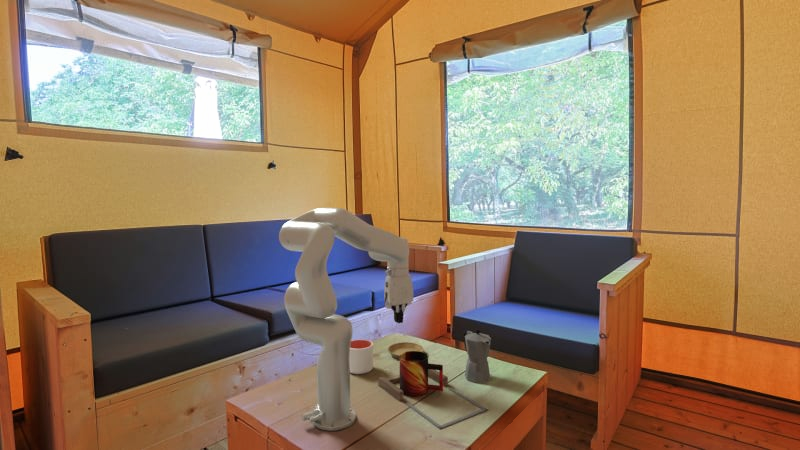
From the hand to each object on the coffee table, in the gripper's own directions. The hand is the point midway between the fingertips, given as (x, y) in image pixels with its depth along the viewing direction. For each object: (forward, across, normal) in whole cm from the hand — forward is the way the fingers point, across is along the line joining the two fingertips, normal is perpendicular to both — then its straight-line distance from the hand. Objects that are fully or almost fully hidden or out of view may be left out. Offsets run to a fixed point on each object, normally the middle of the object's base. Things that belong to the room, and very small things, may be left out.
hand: (398, 322), depth 154 cm
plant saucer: (+21, +14, +16) cm, 30 cm away
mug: (+20, 0, -13) cm, 24 cm away
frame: (+20, 0, -27) cm, 34 cm away
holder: (+20, 0, -9) cm, 22 cm away
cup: (+20, -9, +13) cm, 26 cm away
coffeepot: (+21, +23, -16) cm, 35 cm away
